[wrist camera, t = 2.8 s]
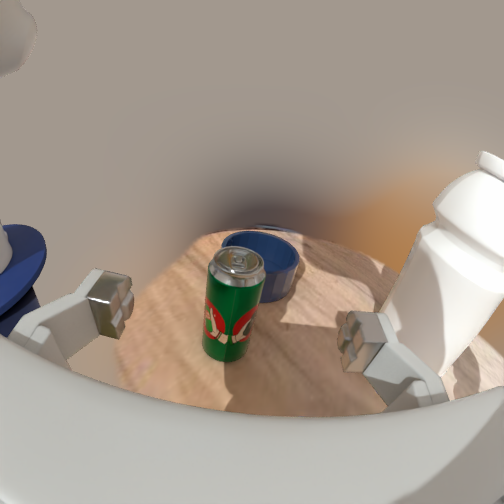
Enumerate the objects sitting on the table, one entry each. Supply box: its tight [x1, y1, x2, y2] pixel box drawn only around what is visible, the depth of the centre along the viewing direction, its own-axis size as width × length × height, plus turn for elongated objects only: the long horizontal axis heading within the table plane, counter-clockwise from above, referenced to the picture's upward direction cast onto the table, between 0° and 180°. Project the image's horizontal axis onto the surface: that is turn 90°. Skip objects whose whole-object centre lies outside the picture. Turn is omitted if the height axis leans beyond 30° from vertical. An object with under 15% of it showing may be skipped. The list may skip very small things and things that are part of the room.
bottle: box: [379, 151, 504, 377], centre depth 25 cm, size 14×14×28 cm
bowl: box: [221, 231, 299, 303], centre depth 40 cm, size 11×11×5 cm
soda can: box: [202, 246, 266, 362], centre depth 26 cm, size 5×5×12 cm
